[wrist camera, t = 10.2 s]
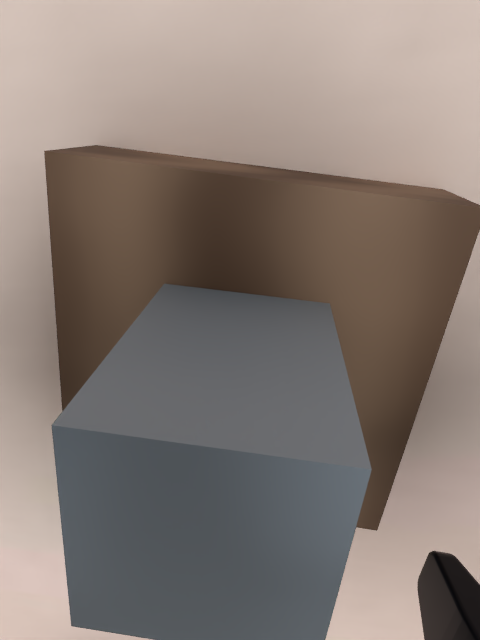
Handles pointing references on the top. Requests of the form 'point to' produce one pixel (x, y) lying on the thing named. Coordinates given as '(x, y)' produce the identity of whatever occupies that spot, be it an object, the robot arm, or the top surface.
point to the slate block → (212, 472)
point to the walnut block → (263, 266)
